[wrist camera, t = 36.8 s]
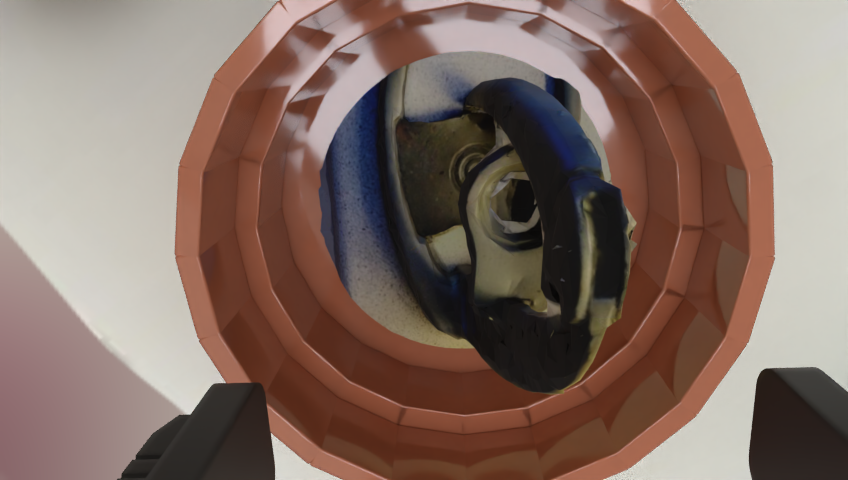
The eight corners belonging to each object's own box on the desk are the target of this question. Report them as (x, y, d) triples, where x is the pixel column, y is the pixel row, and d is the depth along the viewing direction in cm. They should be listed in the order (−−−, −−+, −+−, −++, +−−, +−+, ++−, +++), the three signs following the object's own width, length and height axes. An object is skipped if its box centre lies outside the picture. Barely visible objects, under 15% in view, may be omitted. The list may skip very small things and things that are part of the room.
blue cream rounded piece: (468, 432, 26) (496, 491, 12) (285, 220, 28) (115, 48, 14) (671, 243, 28) (922, 83, 13) (481, 56, 30) (512, -256, 15)
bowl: (189, 289, 29) (96, 371, 21) (359, -116, 24) (320, -200, 17) (544, 454, 31) (578, 585, 23) (768, 105, 26) (904, 122, 18)
